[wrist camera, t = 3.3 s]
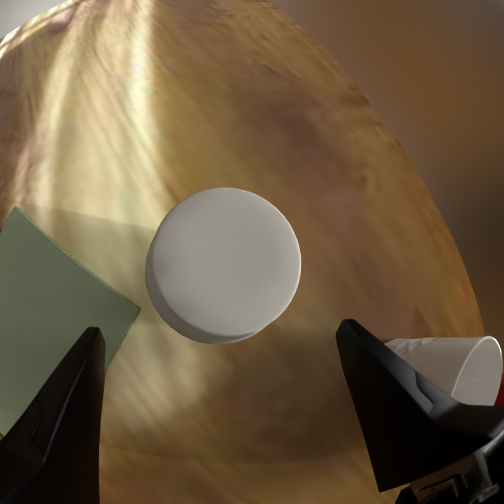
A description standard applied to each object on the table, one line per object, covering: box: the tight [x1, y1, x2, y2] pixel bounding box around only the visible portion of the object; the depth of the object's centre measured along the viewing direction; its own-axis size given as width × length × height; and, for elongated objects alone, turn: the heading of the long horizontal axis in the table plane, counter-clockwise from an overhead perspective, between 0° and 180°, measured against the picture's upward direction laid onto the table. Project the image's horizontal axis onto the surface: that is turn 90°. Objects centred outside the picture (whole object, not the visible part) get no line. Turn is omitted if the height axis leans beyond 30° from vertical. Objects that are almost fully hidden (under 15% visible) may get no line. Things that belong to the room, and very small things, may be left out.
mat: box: [0, 206, 141, 436], centre depth 14 cm, size 19×14×1 cm
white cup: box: [385, 336, 502, 406], centre depth 16 cm, size 8×8×10 cm
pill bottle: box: [145, 188, 301, 344], centre depth 14 cm, size 6×6×11 cm
